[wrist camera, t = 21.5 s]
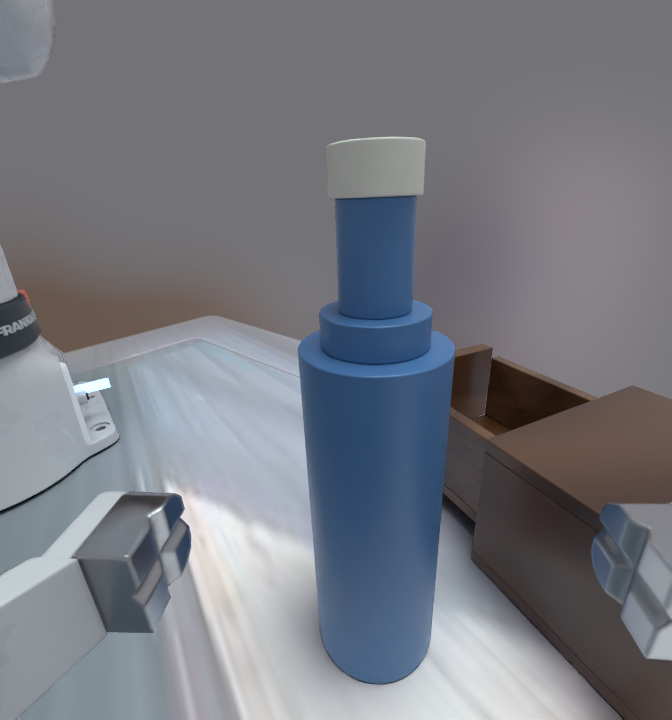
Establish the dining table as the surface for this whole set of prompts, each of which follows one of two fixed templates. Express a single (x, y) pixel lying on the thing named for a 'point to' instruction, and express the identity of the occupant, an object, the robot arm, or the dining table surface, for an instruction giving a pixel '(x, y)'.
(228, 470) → the dining table surface
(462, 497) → the drawer
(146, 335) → the dining table surface
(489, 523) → the cabinet
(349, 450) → the bottle
